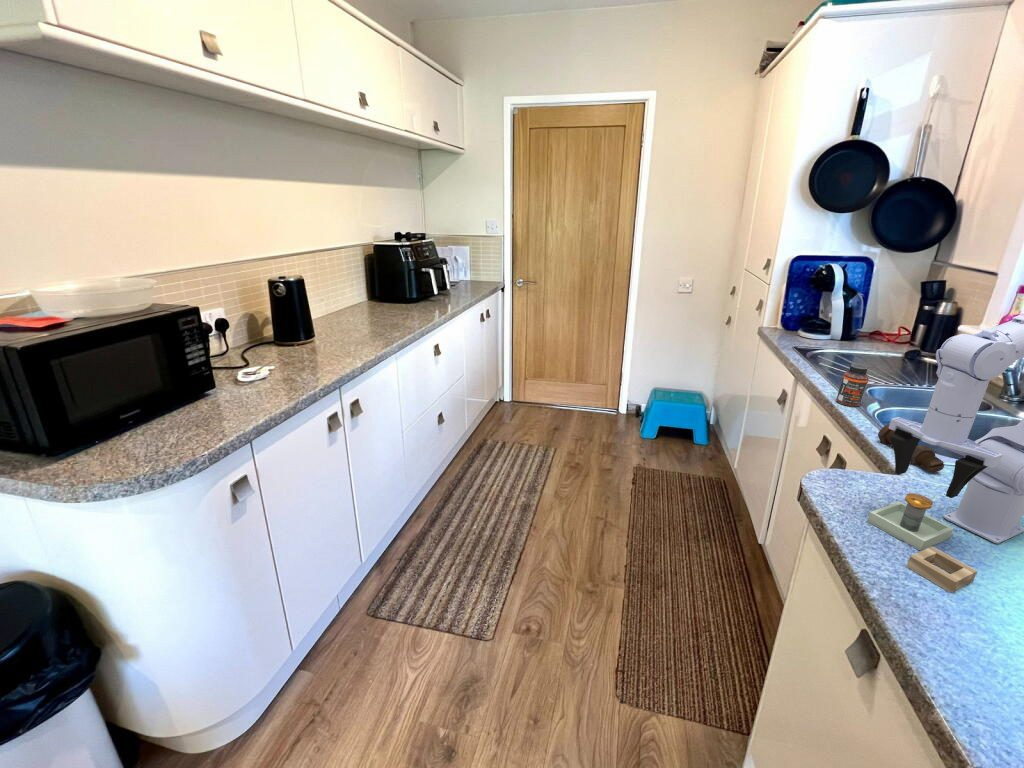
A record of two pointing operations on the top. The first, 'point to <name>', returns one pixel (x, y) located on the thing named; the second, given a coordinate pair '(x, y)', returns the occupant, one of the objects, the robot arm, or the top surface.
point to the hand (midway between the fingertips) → (924, 483)
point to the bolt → (915, 452)
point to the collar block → (949, 582)
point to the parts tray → (922, 539)
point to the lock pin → (914, 511)
